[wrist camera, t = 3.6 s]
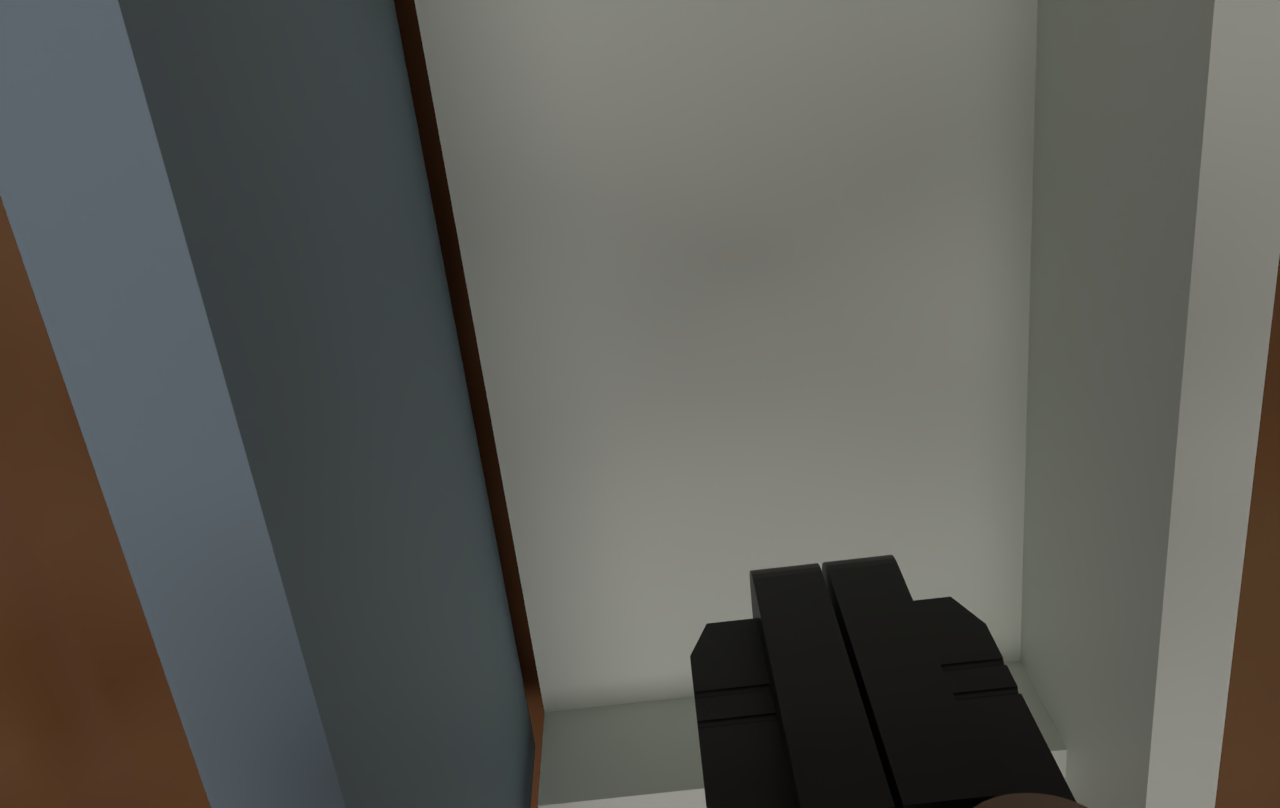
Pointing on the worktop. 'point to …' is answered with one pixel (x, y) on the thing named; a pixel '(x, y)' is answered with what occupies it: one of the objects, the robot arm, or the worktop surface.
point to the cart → (872, 343)
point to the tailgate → (271, 388)
